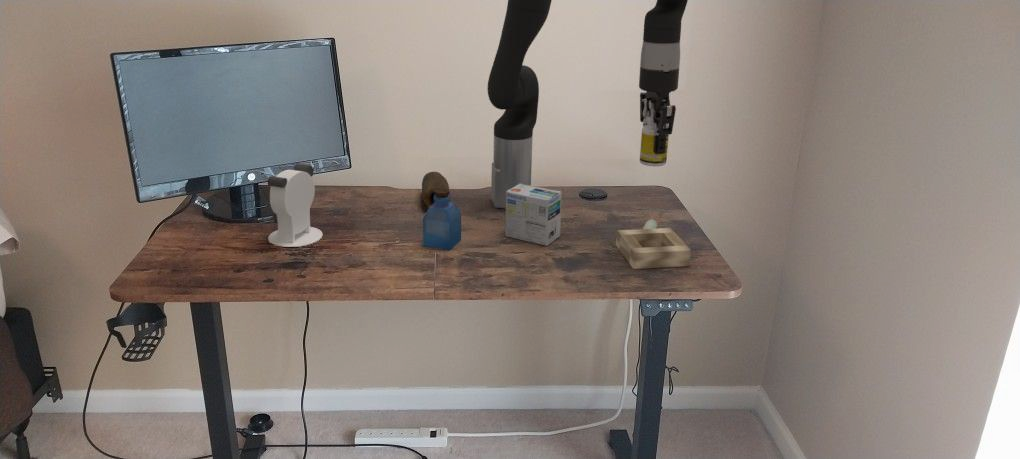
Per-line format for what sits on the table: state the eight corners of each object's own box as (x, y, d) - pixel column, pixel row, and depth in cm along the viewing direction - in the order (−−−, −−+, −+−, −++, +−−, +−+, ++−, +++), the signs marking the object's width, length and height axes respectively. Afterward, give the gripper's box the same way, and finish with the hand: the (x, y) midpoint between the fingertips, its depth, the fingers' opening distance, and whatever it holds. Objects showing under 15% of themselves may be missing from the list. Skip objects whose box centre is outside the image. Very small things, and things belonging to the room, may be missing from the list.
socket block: (633, 269, 158) (634, 253, 156) (615, 245, 169) (617, 230, 167) (689, 265, 160) (691, 250, 158) (668, 242, 171) (670, 227, 169)
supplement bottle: (666, 167, 156) (670, 119, 152) (638, 166, 157) (641, 118, 153) (666, 160, 161) (670, 113, 157) (640, 159, 162) (643, 112, 158)
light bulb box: (560, 236, 173) (563, 190, 168) (547, 247, 167) (549, 199, 163) (518, 226, 177) (519, 182, 173) (503, 236, 172) (504, 190, 168)
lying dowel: (643, 245, 171) (653, 239, 170) (636, 235, 171) (646, 229, 170) (650, 231, 178) (659, 226, 177) (643, 223, 178) (652, 217, 177)
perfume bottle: (461, 239, 170) (461, 187, 165) (449, 250, 164) (449, 197, 160) (435, 235, 172) (434, 183, 167) (423, 246, 166) (422, 193, 162)
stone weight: (454, 212, 185) (454, 186, 182) (424, 214, 183) (424, 187, 181) (446, 191, 198) (446, 166, 196) (418, 192, 197) (418, 167, 194)
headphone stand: (290, 223, 176) (284, 159, 170) (334, 230, 173) (329, 166, 167) (257, 243, 166) (250, 176, 160) (303, 251, 162) (297, 183, 156)
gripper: (629, 59, 157) (624, 141, 163) (654, 72, 144) (648, 160, 150) (664, 58, 159) (659, 139, 165) (692, 70, 145) (685, 158, 152)
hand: (653, 149), depth 157 cm, fingers closed on supplement bottle, 5 cm apart
